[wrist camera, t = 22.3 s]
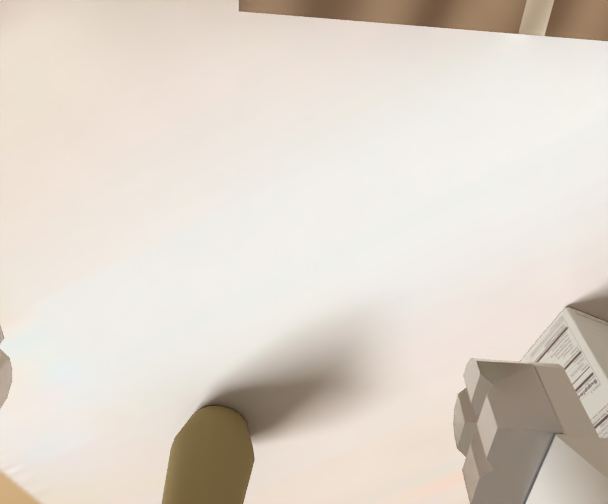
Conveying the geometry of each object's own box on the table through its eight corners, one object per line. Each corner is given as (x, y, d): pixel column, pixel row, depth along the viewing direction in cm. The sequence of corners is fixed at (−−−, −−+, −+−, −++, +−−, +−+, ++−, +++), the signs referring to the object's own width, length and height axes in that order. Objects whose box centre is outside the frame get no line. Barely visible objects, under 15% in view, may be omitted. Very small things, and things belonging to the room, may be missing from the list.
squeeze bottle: (263, 402, 57) (238, 587, 41) (253, 456, 61) (228, 643, 46) (181, 390, 56) (125, 573, 41) (177, 445, 61) (125, 630, 45)
